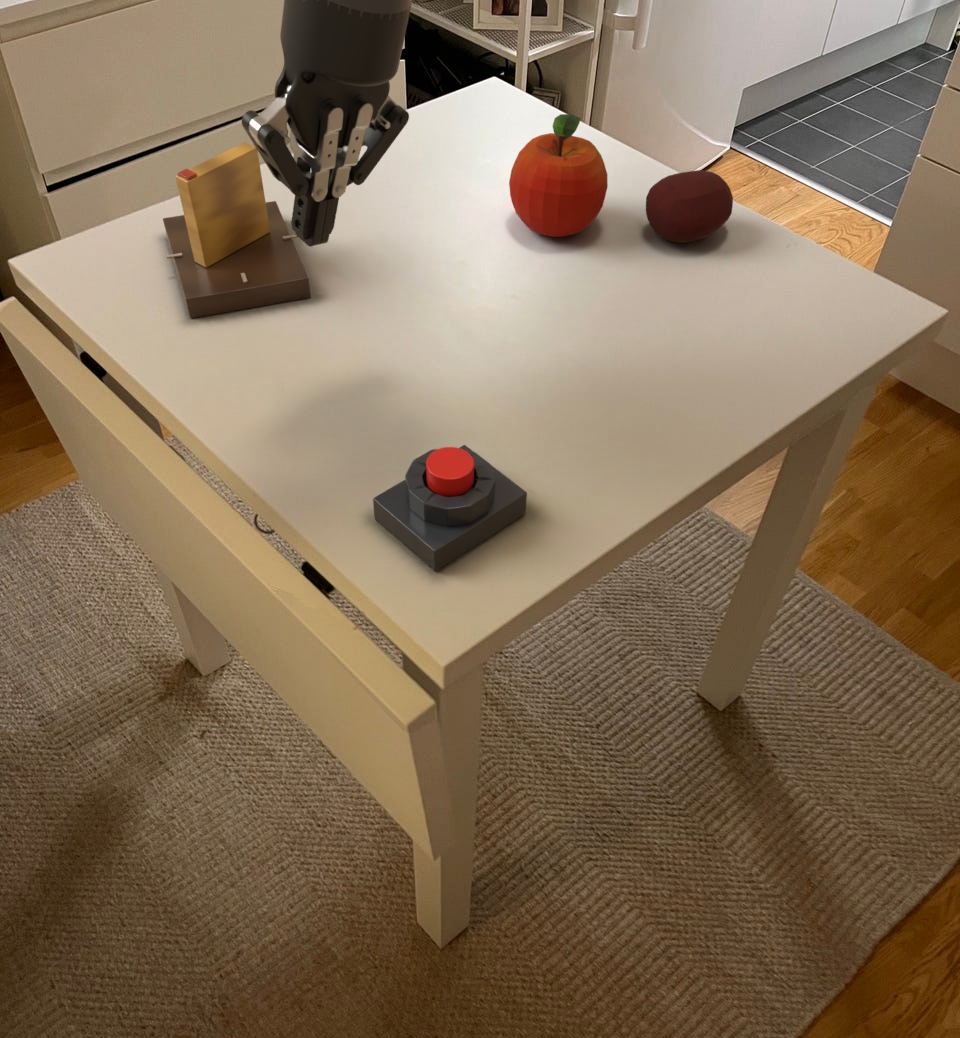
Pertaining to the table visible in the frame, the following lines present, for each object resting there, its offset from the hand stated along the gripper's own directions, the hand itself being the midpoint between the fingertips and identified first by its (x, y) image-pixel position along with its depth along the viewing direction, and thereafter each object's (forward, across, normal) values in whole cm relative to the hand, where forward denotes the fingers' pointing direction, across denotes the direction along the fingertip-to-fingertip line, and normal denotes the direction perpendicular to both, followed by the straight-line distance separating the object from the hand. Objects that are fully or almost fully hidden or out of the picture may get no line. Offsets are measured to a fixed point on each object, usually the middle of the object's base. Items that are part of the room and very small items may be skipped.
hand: (310, 238), depth 73 cm
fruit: (+8, -35, -3) cm, 36 cm away
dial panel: (+15, -8, -18) cm, 25 cm away
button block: (+11, 0, +20) cm, 23 cm away
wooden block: (+13, -7, -18) cm, 24 cm away
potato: (+4, -43, +7) cm, 44 cm away
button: (+7, +1, +19) cm, 21 cm away
